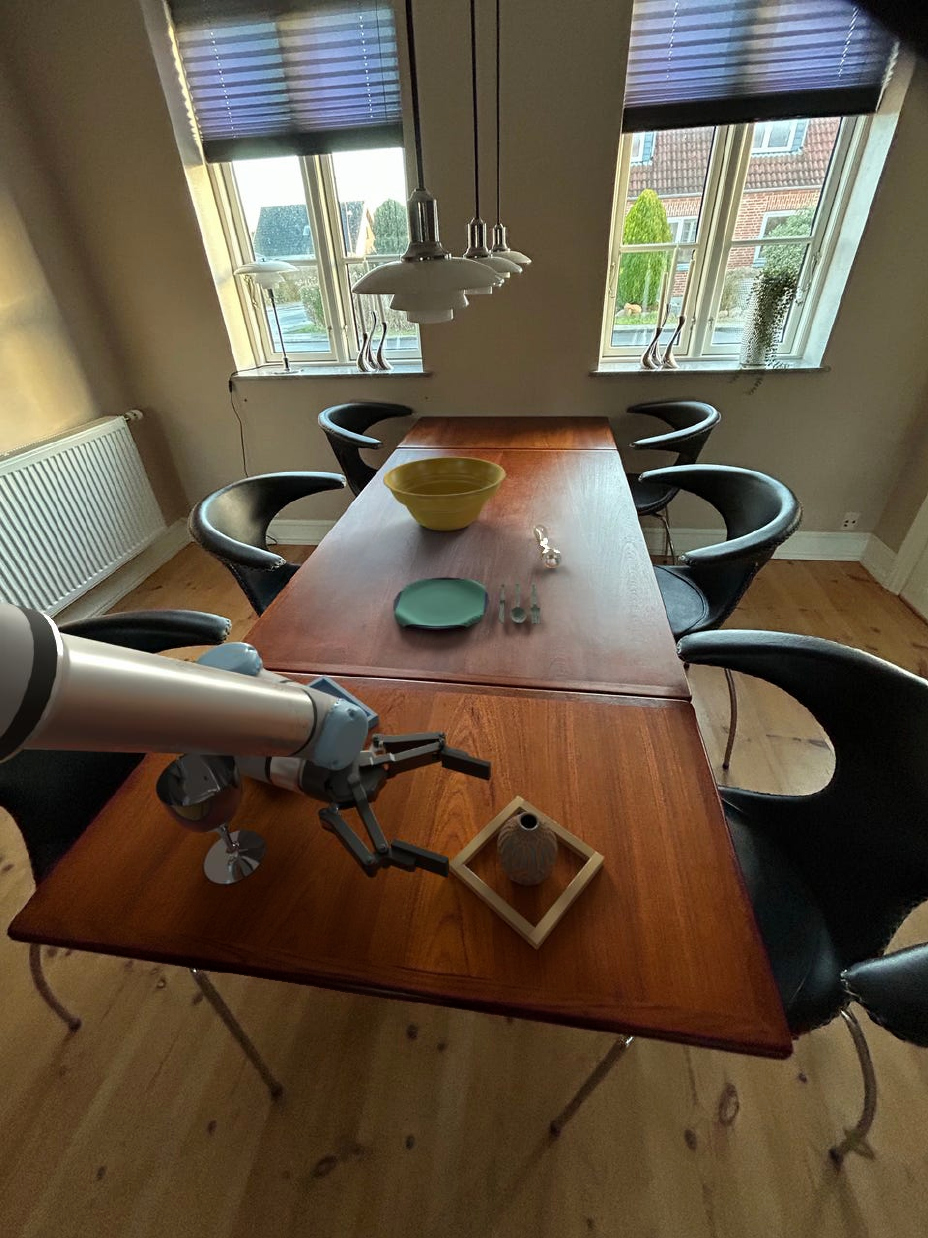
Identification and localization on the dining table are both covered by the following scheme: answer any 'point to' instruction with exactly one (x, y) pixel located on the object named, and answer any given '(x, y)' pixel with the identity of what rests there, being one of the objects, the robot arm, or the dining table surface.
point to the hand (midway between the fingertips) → (470, 815)
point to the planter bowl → (445, 489)
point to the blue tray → (343, 696)
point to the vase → (527, 849)
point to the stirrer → (547, 548)
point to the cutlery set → (451, 604)
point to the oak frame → (497, 903)
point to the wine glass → (211, 811)
